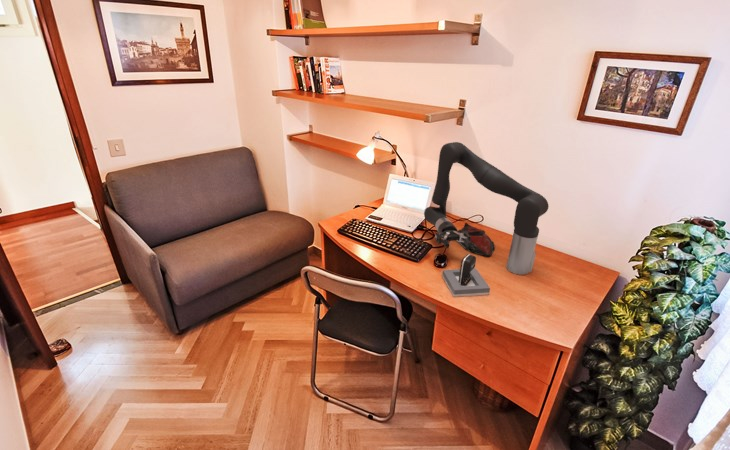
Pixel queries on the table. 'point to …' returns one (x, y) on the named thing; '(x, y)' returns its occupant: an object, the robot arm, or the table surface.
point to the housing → (472, 288)
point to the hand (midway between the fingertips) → (458, 245)
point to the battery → (466, 269)
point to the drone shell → (478, 241)
